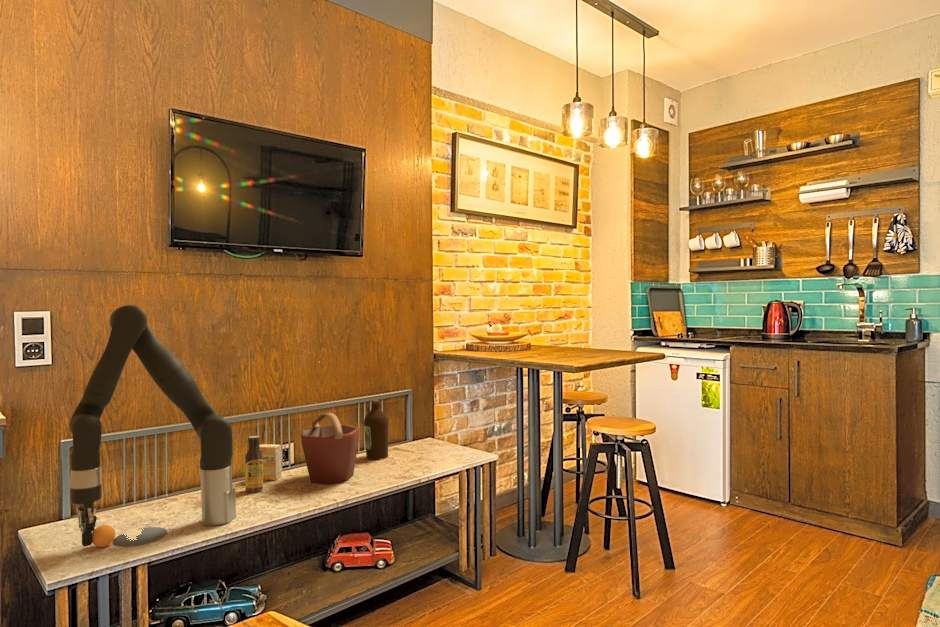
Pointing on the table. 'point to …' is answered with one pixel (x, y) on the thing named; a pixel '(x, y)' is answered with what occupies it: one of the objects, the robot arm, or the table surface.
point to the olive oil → (376, 433)
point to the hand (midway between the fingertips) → (86, 545)
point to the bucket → (330, 450)
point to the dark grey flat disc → (141, 537)
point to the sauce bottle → (254, 466)
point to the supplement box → (271, 461)
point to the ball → (103, 535)
